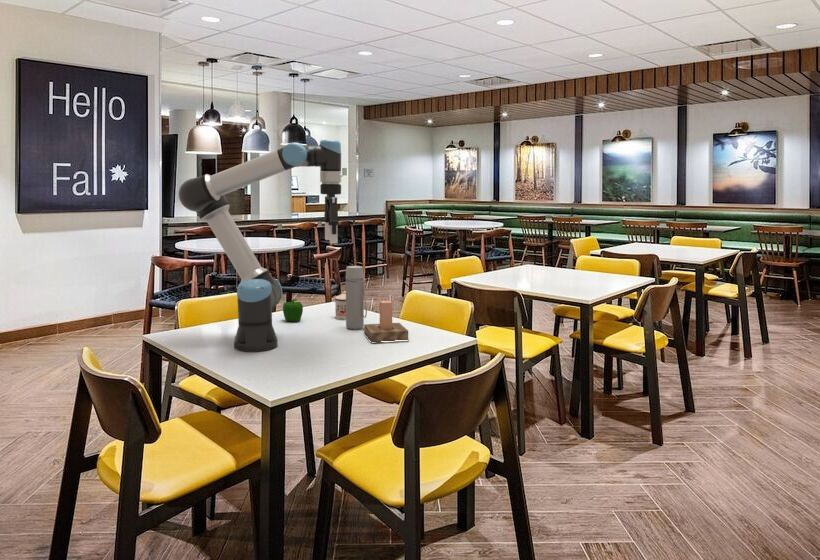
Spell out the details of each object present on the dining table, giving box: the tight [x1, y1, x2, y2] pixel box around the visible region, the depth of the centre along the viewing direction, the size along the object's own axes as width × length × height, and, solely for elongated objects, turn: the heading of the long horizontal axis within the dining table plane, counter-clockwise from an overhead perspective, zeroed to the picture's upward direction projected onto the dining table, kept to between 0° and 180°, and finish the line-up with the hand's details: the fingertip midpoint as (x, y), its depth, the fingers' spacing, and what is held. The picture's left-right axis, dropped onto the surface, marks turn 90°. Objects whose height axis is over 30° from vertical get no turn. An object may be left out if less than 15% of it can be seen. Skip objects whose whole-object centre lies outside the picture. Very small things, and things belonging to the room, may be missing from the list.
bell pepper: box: [282, 298, 304, 323], centre depth 263 cm, size 8×8×10 cm
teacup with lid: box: [334, 290, 346, 320], centre depth 270 cm, size 12×9×12 cm
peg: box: [379, 300, 393, 330], centre depth 235 cm, size 4×4×14 cm
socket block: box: [363, 322, 409, 343], centre depth 236 cm, size 14×14×4 cm
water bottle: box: [345, 265, 368, 330], centre depth 249 cm, size 9×8×25 cm
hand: (331, 241), depth 229 cm, fingers open, 13 cm apart
